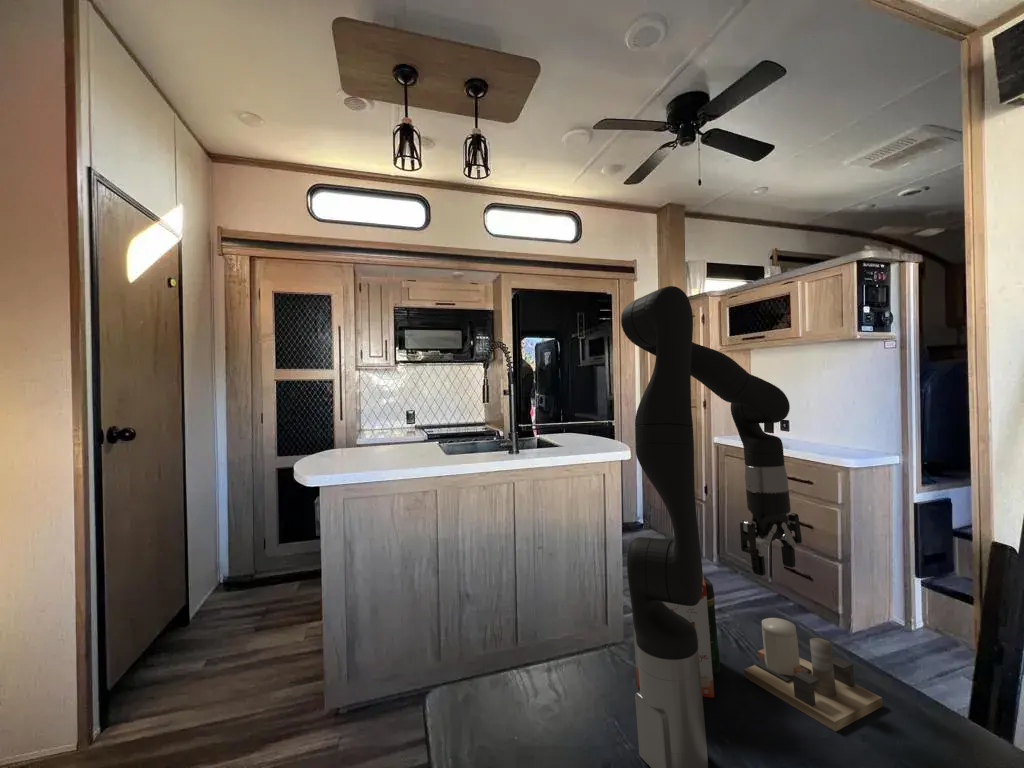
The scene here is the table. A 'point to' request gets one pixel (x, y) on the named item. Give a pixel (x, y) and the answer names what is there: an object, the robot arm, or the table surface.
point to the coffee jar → (712, 627)
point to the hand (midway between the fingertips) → (774, 570)
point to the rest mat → (783, 677)
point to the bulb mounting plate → (821, 688)
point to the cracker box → (701, 624)
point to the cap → (780, 646)
